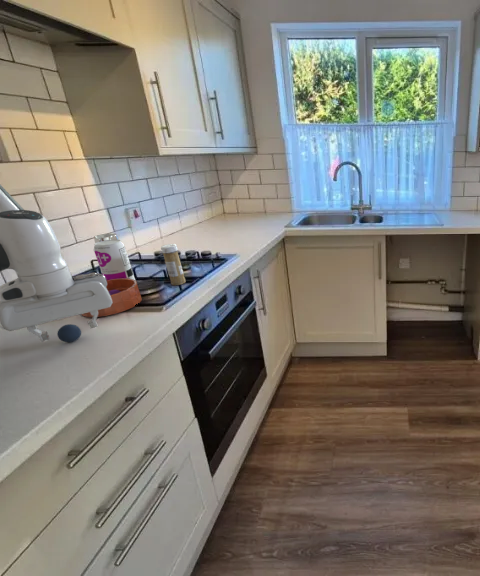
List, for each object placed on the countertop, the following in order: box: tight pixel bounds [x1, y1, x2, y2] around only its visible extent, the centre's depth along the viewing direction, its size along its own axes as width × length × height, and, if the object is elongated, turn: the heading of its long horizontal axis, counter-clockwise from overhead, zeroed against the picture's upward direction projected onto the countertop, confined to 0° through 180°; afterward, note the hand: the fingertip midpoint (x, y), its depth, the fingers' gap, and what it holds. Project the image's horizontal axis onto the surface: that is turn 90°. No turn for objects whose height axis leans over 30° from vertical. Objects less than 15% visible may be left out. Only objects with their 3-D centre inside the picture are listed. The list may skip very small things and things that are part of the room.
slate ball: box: [57, 323, 82, 343], centre depth 89 cm, size 4×4×4 cm
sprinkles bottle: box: [160, 243, 187, 286], centre depth 121 cm, size 5×5×14 cm
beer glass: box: [93, 232, 120, 244], centre depth 129 cm, size 7×7×15 cm
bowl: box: [80, 278, 143, 318], centre depth 106 cm, size 15×15×6 cm
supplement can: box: [93, 239, 136, 281], centre depth 120 cm, size 8×8×15 cm
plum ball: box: [109, 290, 121, 295], centre depth 107 cm, size 4×4×4 cm
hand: (70, 333), depth 89 cm, fingers open, 8 cm apart
